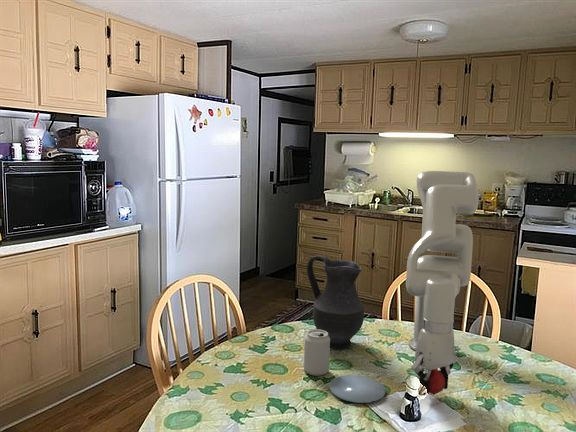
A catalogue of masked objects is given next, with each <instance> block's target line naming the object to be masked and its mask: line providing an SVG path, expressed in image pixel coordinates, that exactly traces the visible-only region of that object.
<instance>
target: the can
mask: <svg viewBox="0 0 576 432" xmlns="http://www.w3.org/2000/svg"><path fill="white" fill-rule="evenodd" d="M303 348H304V349H303V352H304V353H303V354H304V355H303V370H304V371H305V372H306V373H307V374H309V375H311V376H314V377H315V376H316V377H320V376H324V375H326V374H327V373H329V370H330V352H331V351H330V350H331V349H330V337H329V336H328V333H327V332H326V331H324V330H319V329H316V328H315V329H309V330H308V331H306V335H305V336H304V347H303Z"/></svg>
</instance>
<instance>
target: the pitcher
mask: <svg viewBox="0 0 576 432" xmlns="http://www.w3.org/2000/svg"><path fill="white" fill-rule="evenodd" d="M316 260H320V261H322V263H323V267H324V269H325V270H324V271H325V272H326V283H325V286H324V289H323V291H322V293H321V290H320V287H319V284H318V281H317V278H316V276H315V273H314V266H313V265H314V261H316ZM362 270H363V269H362V267H361V266H360V265H359V264H358V263H356V261H354V260H345V259H329V258H328V256H327V255H324V254H319V255H318V254H317V255H314V256H311V257H310V258H309V259H308V261H307V263H306V273H307V277H308V281H309V283H310V284H309V285H310V287H311V290H312V294H313V296H314V303H313V306H312V307H313V308H312V316H313V317H312V319H313V323H314V326H315V329H319V330H324V331H326V332H327V333H328V336H329V337H330V350H333V351H345V350H348V349H350V348H351V347H352V346H353V344H352V341H351V340H352V338H354V337H355V336H356V335H357V333H359V332H360V330H361V328H362V326H363V323H364V319H365V307H364V305H363V302H362V301H361V300H360V297H359V295H358V291H357V287H356V283H355V282H356V281H357V278H358V276H359V275H360V274H361V272H362Z"/></svg>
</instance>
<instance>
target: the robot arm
mask: <svg viewBox="0 0 576 432" xmlns="http://www.w3.org/2000/svg"><path fill="white" fill-rule="evenodd" d="M416 189H417V190H416V191H417V194H418V197H419V199H420V202H421V206H422V225H421V237H420V239H419V240H418V241H416V242H415V244H414V245H413V246H412V248H411V250H410V251H409V253H408V257H407V261H406V276H405V288H406V291H407V292H408V294H410V296H414V297H415V309H414V310H415V311H414V326H413V337H412V338H410V339H409V340H408V347H409V348H410V349H412V350H413V351H415V352H414V353H415V354H414V363H413V364H412V366H411V367H410V368H411V370H412V371H413V372H414V373H415V374H416V375H417V377H419V381H420V383H421V384H422V385H423V386H425V387H426V389H427V393H428V395H429V394H430V393H429V389H430V380H428V378H429V376H430V373H431V370H433V369H437V368H438V370H439V371H440V372H441V373H442V374H443V376H444V378H445V387H444V389H443V390H447V389H448V386H449V375H451V370H452V368H453V367H454V365H455V364H456V362H457V361H458V356H457V355H456V354H455V347H456V345H455V334H454V330H453V329H454V322H455V320H454V315H455V303H456V297H457V295H459V294H460V290H461V287H466V286H468V284H469V283H470V281H471V274H472V262H473V261H472V260H473V248H474V247H473V246H474V245H473V242H474V238H473V237H474V236H473V232H472V229H471V227H469V226H468V225H467V224H461V223H460V224H459V223H456V222H457V221H456V220H457V214H460V215H474V214H475V213H476V212H477V211H478V207H479V198H480V196H479V190H478V189H479V188H478V184H477V180H476V177H475V175H474V174H473V173H471V172H468V171H447V170H446V171H445V170H443V171H442V170H427V171H423V172H420V173H419V174H418V175H417V177H416ZM426 251H428V252H432V253H433V252H434V253H435V252H436V253H447V254H455V255H456V256H445V255H435V254H434V255H433V254H426V255H422V254H423V253H425V252H426ZM421 255H422V256H421ZM424 371H425V372H426V373H425V372H424Z"/></svg>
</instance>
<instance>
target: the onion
mask: <svg viewBox="0 0 576 432" xmlns="http://www.w3.org/2000/svg"><path fill="white" fill-rule="evenodd" d="M439 370H440V369H439V368H437V369H433V370H431V373H430V376H429V378H428V380H430V389H429V394H431V395H432V396H433V395H434V396H435V395H437V394H439V393H441V392H443V390H445V389H444V387H445V378H444V376H443V374H442V373H441V372H440V371H439ZM425 373H426V371H425V372H424V374H425Z"/></svg>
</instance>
